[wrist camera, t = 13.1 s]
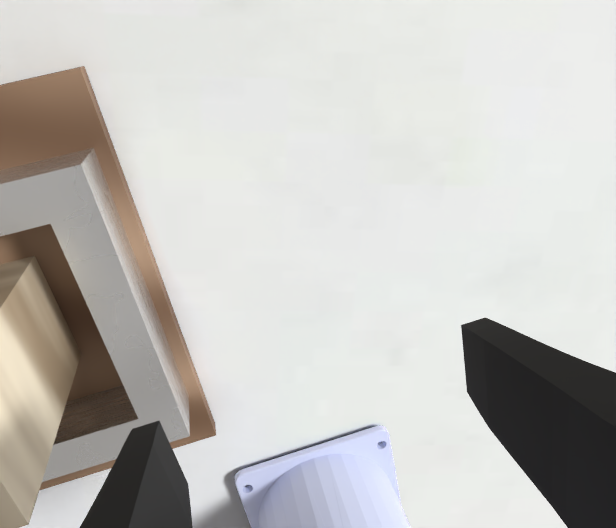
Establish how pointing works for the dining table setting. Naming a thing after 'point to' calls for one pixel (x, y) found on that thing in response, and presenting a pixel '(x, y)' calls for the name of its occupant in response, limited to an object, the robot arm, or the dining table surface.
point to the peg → (30, 384)
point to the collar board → (93, 275)
